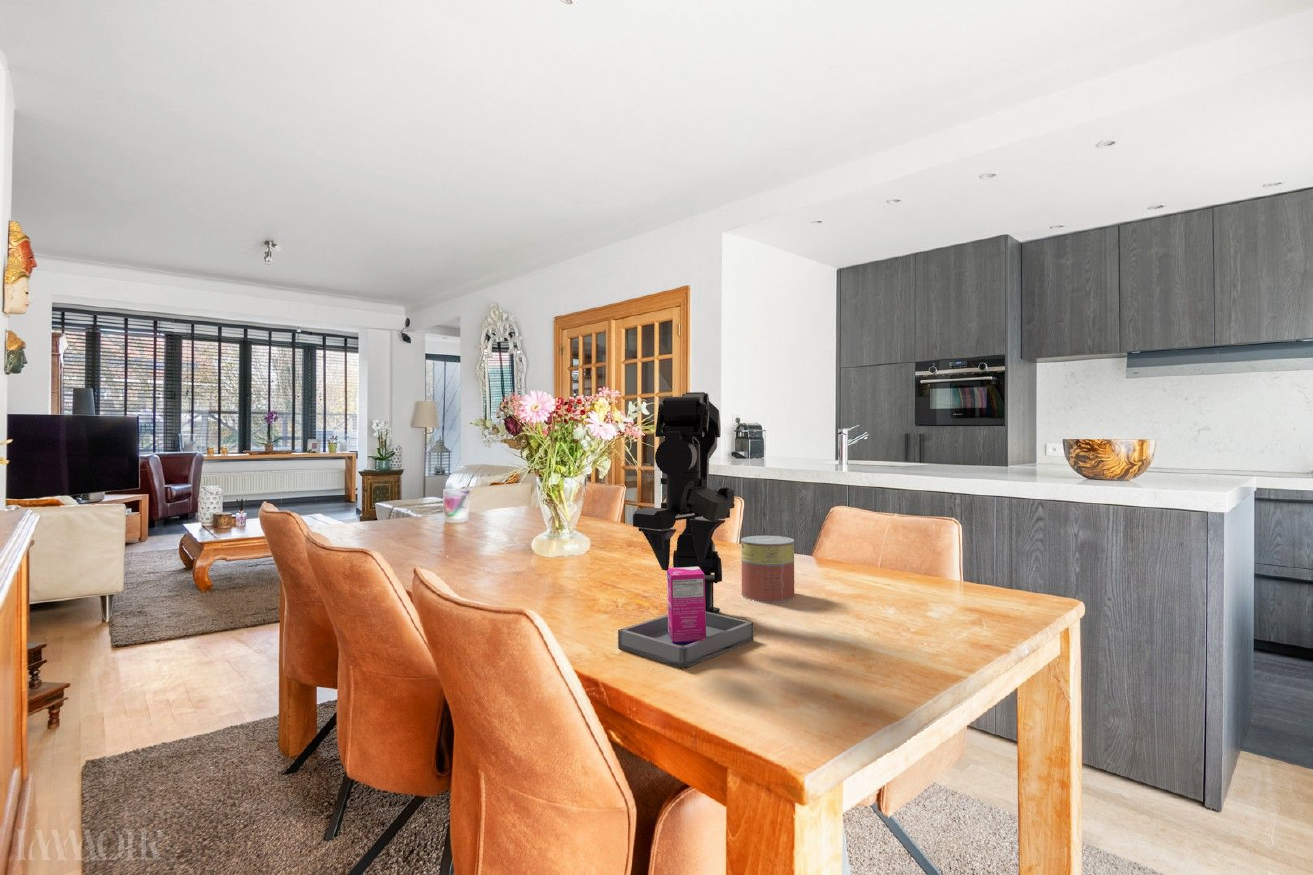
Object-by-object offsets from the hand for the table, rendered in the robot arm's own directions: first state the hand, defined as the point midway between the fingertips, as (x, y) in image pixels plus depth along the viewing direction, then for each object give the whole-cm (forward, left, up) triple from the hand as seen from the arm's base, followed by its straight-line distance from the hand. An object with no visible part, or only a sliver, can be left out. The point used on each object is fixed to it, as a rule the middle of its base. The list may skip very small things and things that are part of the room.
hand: (683, 565), depth 109 cm
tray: (0, +1, -13) cm, 13 cm away
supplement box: (0, +1, -12) cm, 12 cm away
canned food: (-36, -7, -13) cm, 39 cm away
